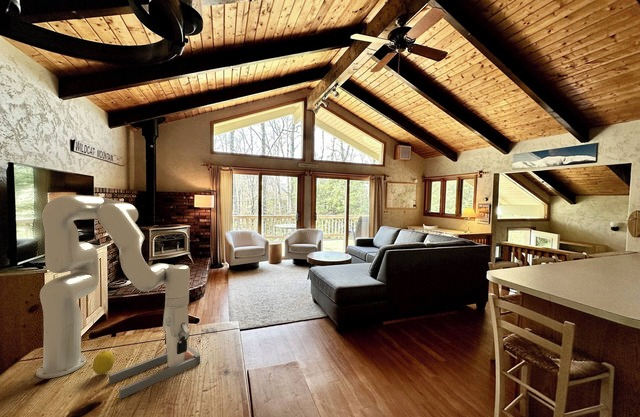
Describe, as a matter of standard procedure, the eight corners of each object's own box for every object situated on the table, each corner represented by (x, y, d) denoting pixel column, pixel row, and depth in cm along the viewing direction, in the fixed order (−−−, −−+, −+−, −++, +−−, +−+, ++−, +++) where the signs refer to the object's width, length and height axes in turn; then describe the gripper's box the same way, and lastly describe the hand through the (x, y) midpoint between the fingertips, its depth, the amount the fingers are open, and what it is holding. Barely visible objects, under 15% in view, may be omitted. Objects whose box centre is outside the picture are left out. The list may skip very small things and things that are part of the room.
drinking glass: (177, 371, 94) (178, 328, 94) (160, 368, 96) (161, 325, 95) (190, 360, 101) (191, 320, 101) (174, 358, 102) (175, 318, 102)
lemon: (112, 367, 95) (112, 344, 95) (115, 374, 91) (115, 351, 91) (91, 374, 91) (92, 350, 91) (93, 382, 88) (94, 357, 87)
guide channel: (109, 382, 87) (109, 372, 87) (185, 352, 106) (185, 344, 106) (120, 399, 80) (120, 388, 80) (200, 363, 99) (200, 354, 99)
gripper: (156, 296, 100) (154, 343, 101) (177, 309, 90) (175, 361, 90) (177, 292, 106) (175, 336, 106) (199, 303, 95) (197, 352, 96)
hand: (175, 347), depth 98 cm, fingers open, 9 cm apart
